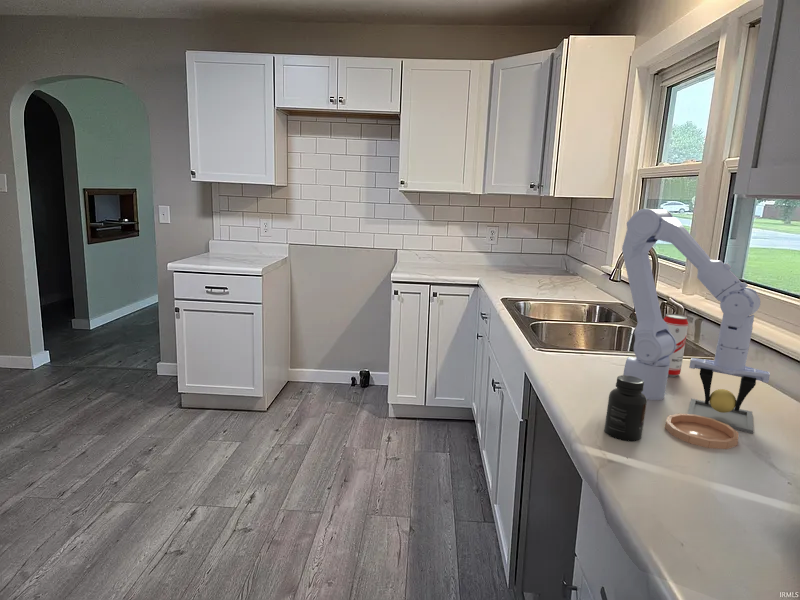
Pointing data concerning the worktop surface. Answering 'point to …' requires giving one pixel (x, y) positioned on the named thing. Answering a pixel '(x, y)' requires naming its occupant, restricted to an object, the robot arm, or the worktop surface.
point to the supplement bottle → (626, 409)
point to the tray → (723, 415)
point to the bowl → (702, 431)
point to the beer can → (677, 341)
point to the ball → (722, 400)
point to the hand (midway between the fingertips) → (721, 406)
